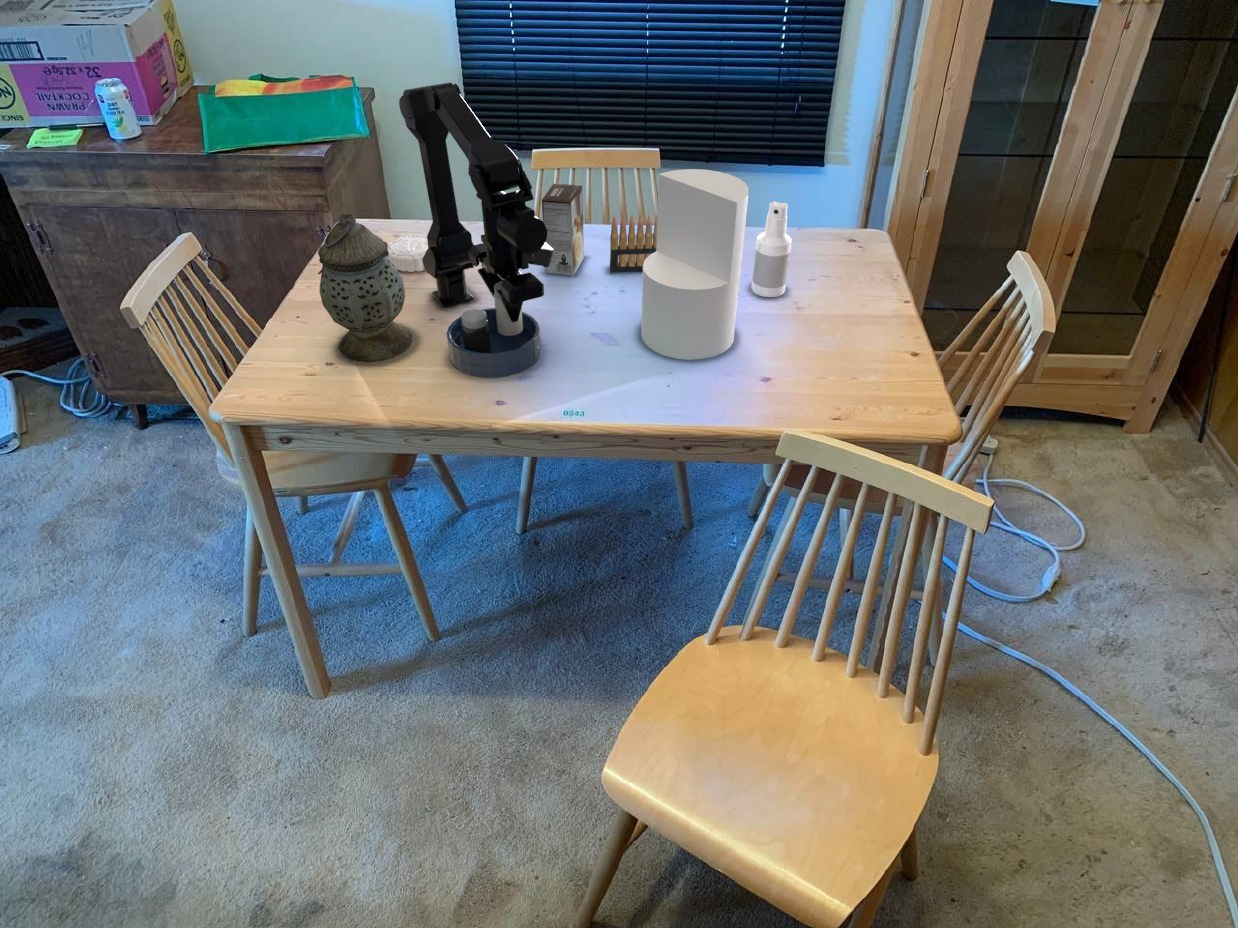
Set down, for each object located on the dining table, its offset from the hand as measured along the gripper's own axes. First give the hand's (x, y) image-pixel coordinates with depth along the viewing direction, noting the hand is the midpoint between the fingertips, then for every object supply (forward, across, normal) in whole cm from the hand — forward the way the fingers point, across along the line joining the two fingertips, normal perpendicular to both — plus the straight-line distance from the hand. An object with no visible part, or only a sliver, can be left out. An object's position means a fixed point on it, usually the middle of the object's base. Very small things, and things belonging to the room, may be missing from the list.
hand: (509, 315), depth 149 cm
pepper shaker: (+7, 0, +6) cm, 9 cm away
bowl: (+7, 0, +3) cm, 8 cm away
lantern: (+7, +14, +21) cm, 27 cm away
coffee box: (+7, +26, -24) cm, 36 cm away
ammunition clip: (+7, +17, -36) cm, 40 cm away
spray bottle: (+7, -4, -55) cm, 55 cm away
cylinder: (+7, -11, -31) cm, 33 cm away
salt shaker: (+3, 0, 0) cm, 3 cm away
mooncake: (+7, +44, +3) cm, 45 cm away
